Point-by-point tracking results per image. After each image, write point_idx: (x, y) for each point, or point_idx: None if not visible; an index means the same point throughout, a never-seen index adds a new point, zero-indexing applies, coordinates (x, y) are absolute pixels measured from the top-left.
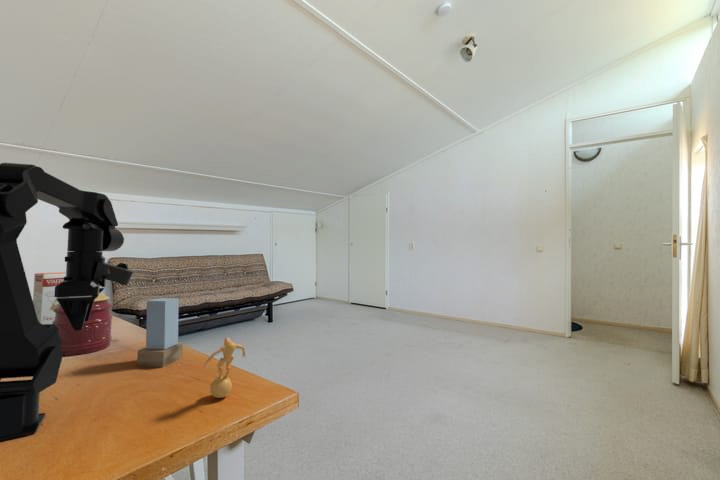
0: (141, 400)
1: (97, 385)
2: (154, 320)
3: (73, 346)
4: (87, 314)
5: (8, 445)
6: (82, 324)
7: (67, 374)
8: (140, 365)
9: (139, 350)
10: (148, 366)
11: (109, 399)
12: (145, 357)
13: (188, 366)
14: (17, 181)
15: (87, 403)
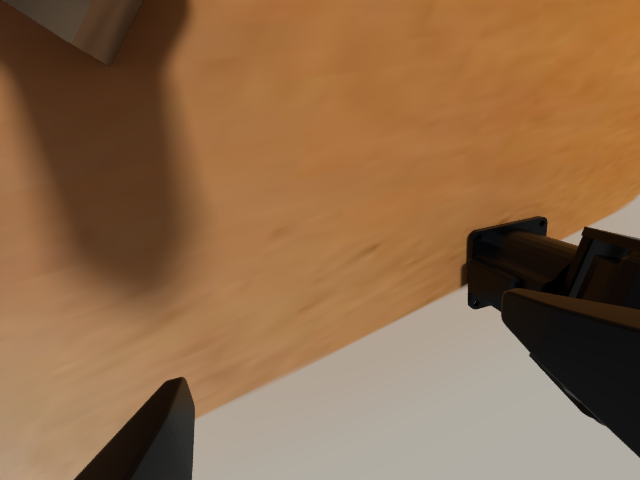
0: (495, 15)
1: (311, 173)
2: None
3: None
4: (171, 430)
5: None
6: (560, 299)
7: (156, 302)
8: (116, 49)
9: (74, 32)
10: (138, 8)
11: (442, 110)
12: (112, 8)
13: None
14: None
15: (441, 162)
